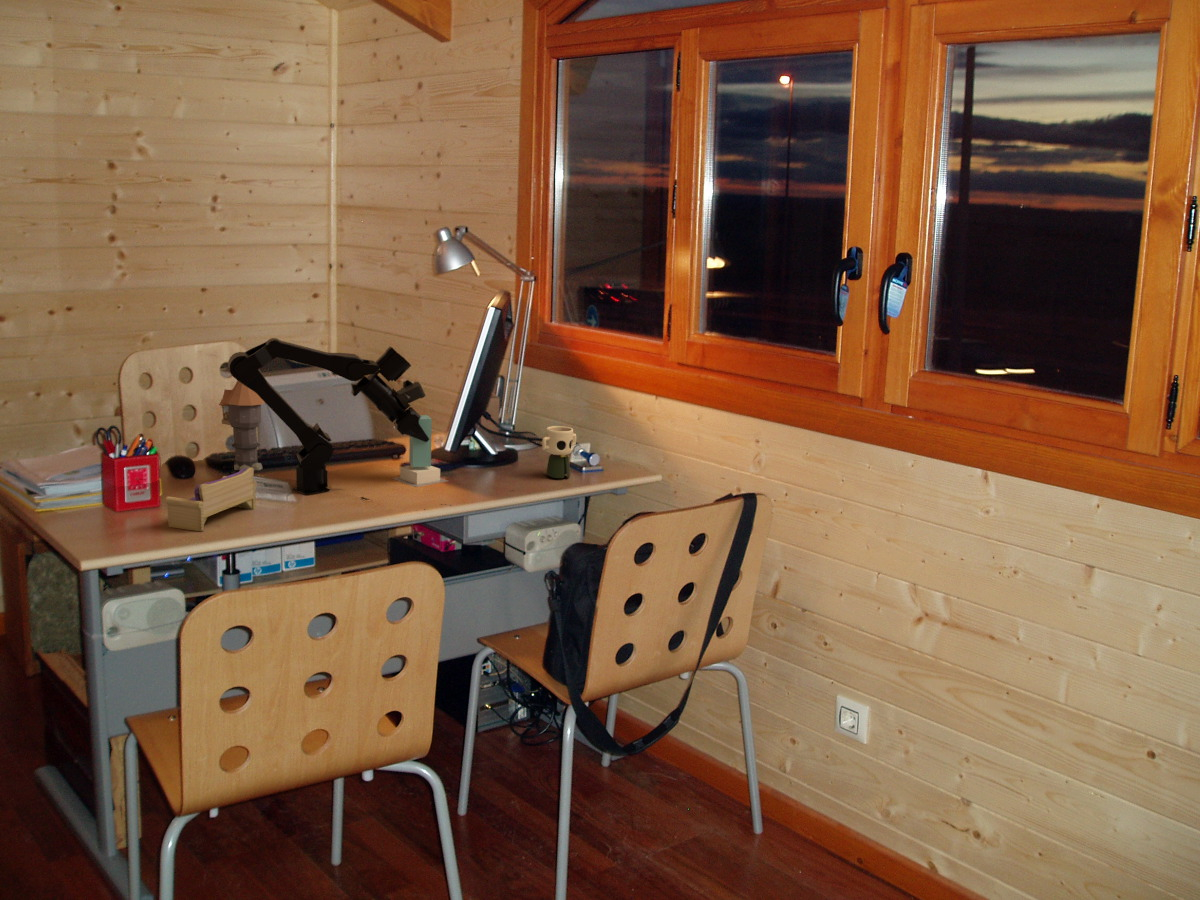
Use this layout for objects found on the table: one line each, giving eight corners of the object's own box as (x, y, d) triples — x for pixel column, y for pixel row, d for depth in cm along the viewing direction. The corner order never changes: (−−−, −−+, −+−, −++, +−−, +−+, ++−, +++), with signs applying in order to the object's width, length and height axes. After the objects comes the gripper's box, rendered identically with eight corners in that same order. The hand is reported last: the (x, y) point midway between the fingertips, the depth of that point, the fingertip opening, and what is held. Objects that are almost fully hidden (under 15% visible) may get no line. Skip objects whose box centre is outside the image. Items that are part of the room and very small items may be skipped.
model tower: (237, 461, 296) (234, 347, 289) (274, 465, 293) (271, 351, 286) (214, 468, 287) (211, 352, 280) (252, 474, 284) (249, 356, 277)
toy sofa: (225, 503, 259) (224, 460, 256) (258, 508, 256) (257, 465, 254) (165, 528, 239) (163, 481, 237) (200, 533, 237) (198, 486, 234)
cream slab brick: (417, 484, 276) (417, 472, 275) (400, 478, 280) (400, 467, 280) (440, 480, 281) (440, 468, 280) (423, 474, 285) (423, 463, 285)
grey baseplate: (415, 492, 274) (415, 486, 274) (391, 484, 281) (391, 478, 280) (448, 486, 281) (448, 480, 281) (424, 478, 288) (424, 472, 287)
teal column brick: (412, 467, 277) (413, 419, 274) (409, 462, 281) (409, 415, 278) (430, 466, 278) (431, 418, 276) (427, 462, 282) (428, 415, 280)
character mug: (549, 483, 289) (551, 433, 286) (533, 476, 294) (534, 428, 291) (582, 477, 296) (584, 429, 293) (566, 471, 301) (567, 424, 298)
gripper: (412, 378, 264) (457, 423, 271) (398, 365, 281) (441, 408, 288) (378, 411, 264) (424, 456, 270) (366, 397, 281) (409, 439, 287)
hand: (425, 438), depth 279 cm, fingers closed on teal column brick, 4 cm apart
